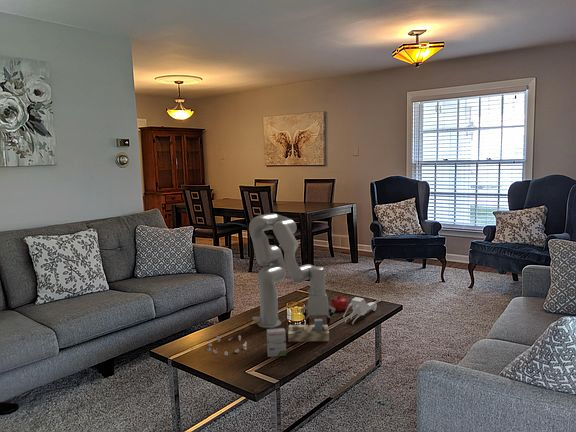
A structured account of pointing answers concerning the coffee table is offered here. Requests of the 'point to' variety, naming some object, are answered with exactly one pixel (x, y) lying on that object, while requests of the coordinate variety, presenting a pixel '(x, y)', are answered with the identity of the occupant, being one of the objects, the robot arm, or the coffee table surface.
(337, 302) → the pomegranate
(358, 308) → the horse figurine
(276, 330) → the ink box
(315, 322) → the grey rectangular block
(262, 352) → the coffee table surface
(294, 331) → the socket block
